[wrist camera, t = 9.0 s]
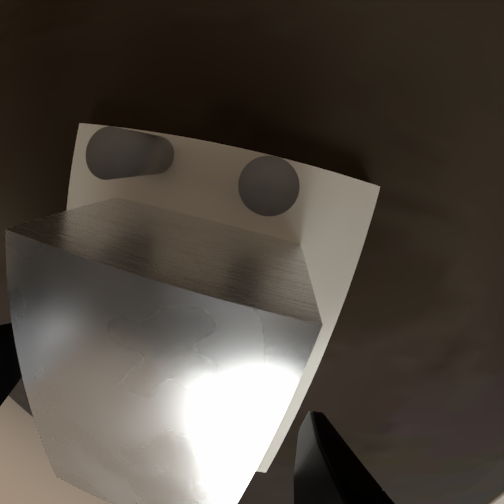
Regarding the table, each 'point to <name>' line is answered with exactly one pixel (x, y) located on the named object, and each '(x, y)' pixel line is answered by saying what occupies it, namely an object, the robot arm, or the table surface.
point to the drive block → (157, 347)
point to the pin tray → (237, 208)
